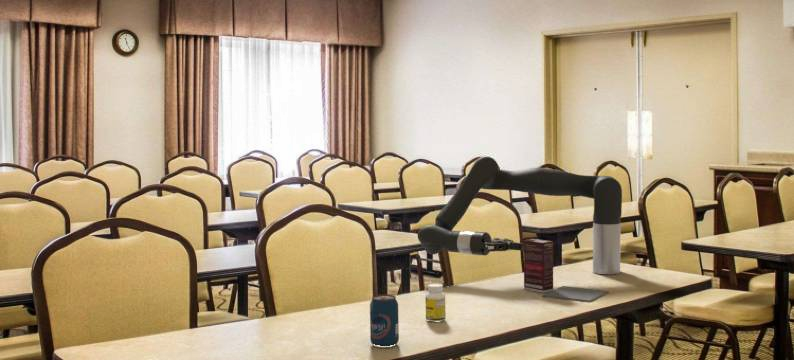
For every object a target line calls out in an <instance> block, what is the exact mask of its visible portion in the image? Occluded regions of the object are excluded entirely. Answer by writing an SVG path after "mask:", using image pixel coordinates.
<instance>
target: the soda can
mask: <svg viewBox="0 0 794 360" xmlns="http://www.w3.org/2000/svg"><path fill="white" fill-rule="evenodd" d="M369 320H370V321H369V326H370V327H369V329H370V333H369V334H370V339H369V340H370V342H371V344H372V345H373V344H375V345H380V346H390V345H394V344H396V345H398V342H399V337H400V335H399V332H400V331H399V327H400V326H399V302H398V301H397V297H396V296H395V295H392V294H377V295H373V296H372V297H371V301H370V303H369Z"/></svg>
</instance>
